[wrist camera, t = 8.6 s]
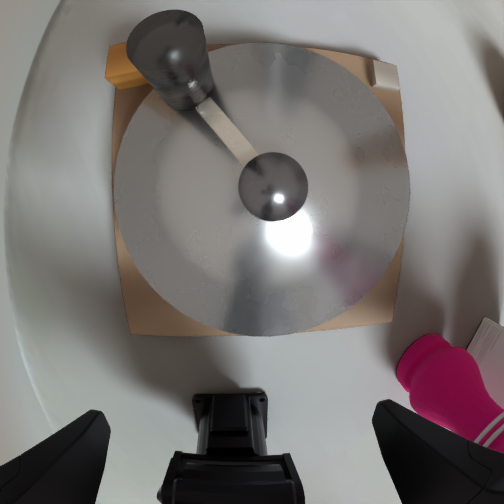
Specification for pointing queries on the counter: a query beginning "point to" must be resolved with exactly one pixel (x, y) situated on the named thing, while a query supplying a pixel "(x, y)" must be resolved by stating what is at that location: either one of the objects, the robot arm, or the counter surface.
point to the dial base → (134, 284)
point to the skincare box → (490, 357)
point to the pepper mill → (451, 391)
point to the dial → (256, 181)
